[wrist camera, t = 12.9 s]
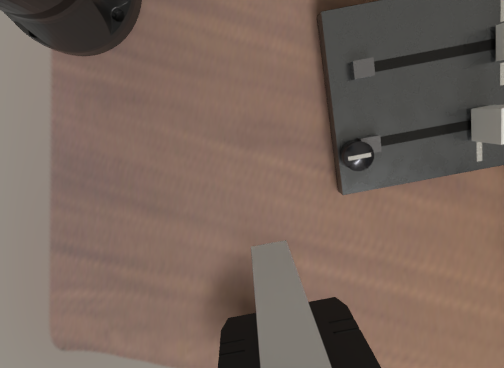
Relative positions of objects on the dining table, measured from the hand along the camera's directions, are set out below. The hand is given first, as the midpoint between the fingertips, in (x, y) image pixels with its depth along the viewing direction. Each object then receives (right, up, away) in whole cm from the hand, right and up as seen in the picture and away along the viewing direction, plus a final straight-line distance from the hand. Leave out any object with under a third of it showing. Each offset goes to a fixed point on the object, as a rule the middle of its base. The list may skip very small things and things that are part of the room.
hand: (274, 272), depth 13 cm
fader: (+27, +11, +25) cm, 39 cm away
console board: (+24, +16, +26) cm, 39 cm away
